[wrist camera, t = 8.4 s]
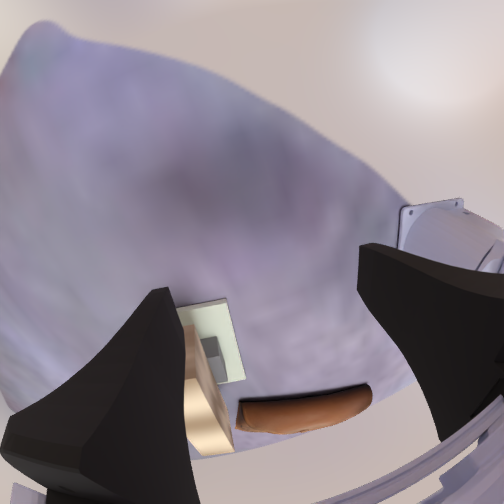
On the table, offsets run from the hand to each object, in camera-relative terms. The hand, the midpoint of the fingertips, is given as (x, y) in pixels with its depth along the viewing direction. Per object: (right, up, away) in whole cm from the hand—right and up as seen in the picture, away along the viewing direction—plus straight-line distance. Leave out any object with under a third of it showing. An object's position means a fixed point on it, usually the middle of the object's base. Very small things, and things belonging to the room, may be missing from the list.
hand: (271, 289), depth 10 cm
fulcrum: (-6, -8, +14) cm, 17 cm away
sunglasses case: (+6, -19, +22) cm, 30 cm away
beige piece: (-5, -9, +11) cm, 16 cm away
